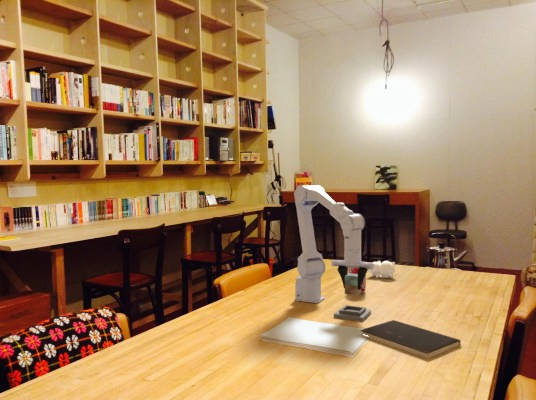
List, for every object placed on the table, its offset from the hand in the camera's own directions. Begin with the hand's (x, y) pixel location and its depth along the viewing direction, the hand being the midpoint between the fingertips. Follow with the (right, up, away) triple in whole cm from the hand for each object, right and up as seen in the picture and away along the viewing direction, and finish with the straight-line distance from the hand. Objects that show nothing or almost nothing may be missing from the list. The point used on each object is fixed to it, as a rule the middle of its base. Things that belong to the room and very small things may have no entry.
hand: (352, 288), depth 164 cm
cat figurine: (+24, -6, +58) cm, 63 cm away
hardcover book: (+12, -11, -25) cm, 30 cm away
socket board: (0, -9, -1) cm, 9 cm away
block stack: (0, -2, 0) cm, 2 cm away
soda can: (+7, -7, +31) cm, 33 cm away
